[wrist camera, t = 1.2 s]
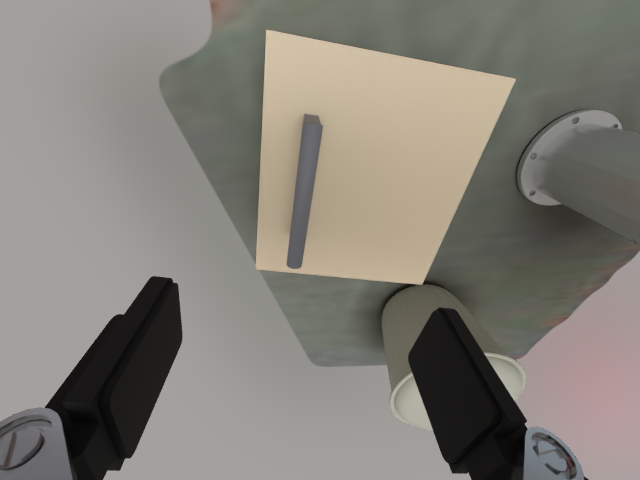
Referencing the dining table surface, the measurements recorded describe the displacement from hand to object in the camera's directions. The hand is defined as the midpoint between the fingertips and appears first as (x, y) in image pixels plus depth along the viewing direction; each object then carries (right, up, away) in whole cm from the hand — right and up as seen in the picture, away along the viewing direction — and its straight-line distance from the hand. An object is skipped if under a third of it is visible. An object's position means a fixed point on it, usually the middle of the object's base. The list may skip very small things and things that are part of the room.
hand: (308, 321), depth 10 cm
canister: (+18, -9, +41) cm, 46 cm away
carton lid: (+5, +8, +17) cm, 20 cm away
